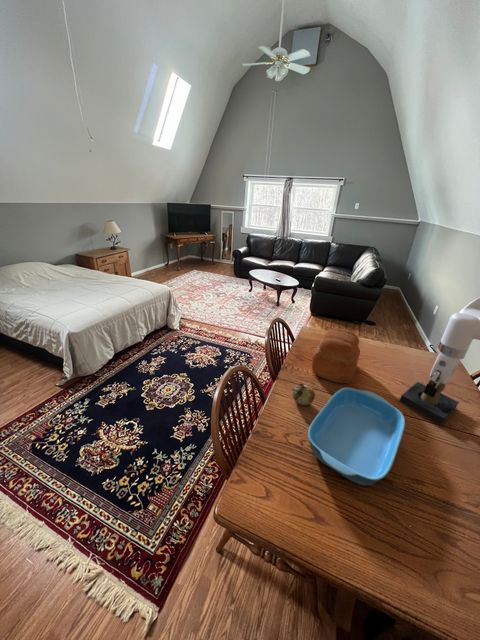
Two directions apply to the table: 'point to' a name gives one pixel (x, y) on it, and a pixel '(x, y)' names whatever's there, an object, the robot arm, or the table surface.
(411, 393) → the socket pad
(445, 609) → the table surface
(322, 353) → the bread
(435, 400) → the cork
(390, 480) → the table surface
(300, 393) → the onion
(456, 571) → the table surface
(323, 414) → the casserole dish
